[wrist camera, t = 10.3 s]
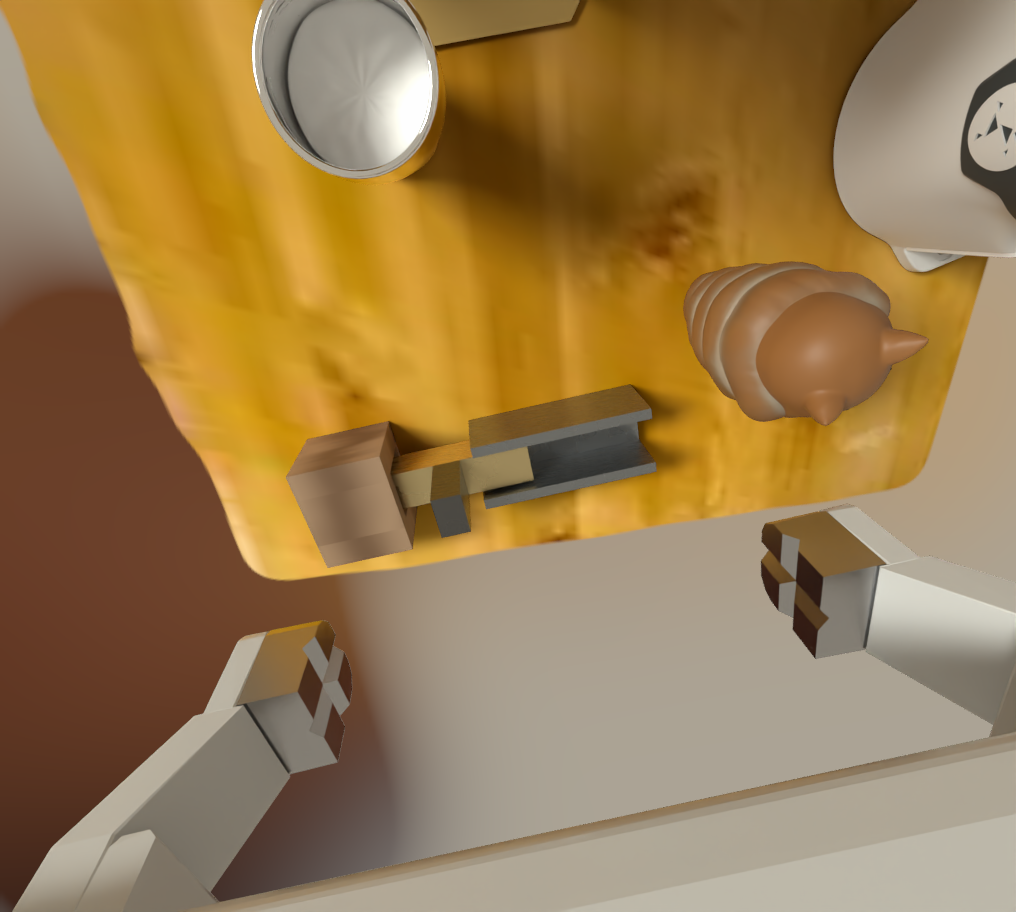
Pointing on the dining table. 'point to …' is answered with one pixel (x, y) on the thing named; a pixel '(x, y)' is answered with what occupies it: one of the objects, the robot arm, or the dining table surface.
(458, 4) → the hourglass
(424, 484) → the tan grey t-shaped block
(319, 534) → the socket
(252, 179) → the dining table surface
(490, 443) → the grey track with slider
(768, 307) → the cat ice cream
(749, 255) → the dining table surface
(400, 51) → the silver cup
